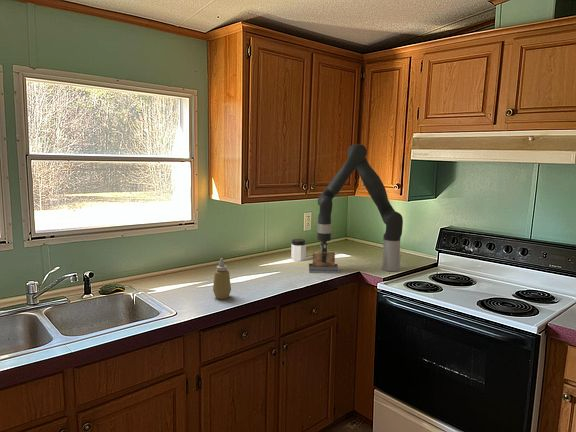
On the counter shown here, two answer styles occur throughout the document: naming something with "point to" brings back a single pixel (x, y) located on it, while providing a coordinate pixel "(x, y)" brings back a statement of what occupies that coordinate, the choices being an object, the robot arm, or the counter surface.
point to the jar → (298, 250)
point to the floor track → (323, 269)
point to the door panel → (329, 259)
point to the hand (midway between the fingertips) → (323, 260)
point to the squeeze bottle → (221, 281)
